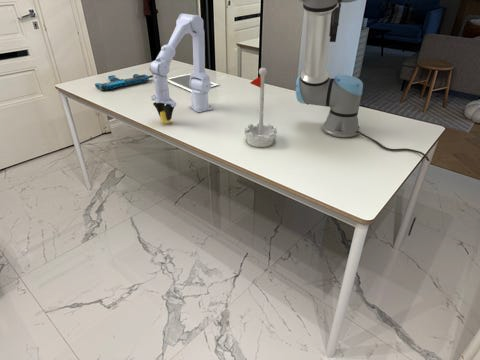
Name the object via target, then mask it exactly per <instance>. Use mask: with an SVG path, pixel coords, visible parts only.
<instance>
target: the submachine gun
mask: <svg viewBox="0 0 480 360" xmlns="http://www.w3.org/2000/svg"><path fill="white" fill-rule="evenodd" d="M107 77H108V80H109V82H103V83H100V82H96V83H94V86H95V88H97V89H98V90H100V91H107V90H113V91H114V90H115V89H116V88H120V87H125V86H129V85H134V84H138V83H139V84H140V83H145V82H146V83H147V81H148V80H150V79H151V78H153V75H152V74H151V75H147V74H138V73H134V74H133V75H132V77H129V78H121V79H120V78H118V77H117V76H116V75H113V74H112V75H108V76H107Z"/></svg>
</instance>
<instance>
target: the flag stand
mask: <svg viewBox="0 0 480 360" xmlns="http://www.w3.org/2000/svg"><path fill="white" fill-rule="evenodd" d="M267 73H268V71H267V69H266V68H265V67H260V68H259V70H258V74H259V76H258V77H256V78H255V79H253V80H252V81H250V82H249V84H250V85H253V86H256V87H257V88H259V115H258V122H256V125H254V124H253V123H250V124H248V125H247V127H245V128H244V137H246V138H247V139H246V141H247V143H248V145H250V146H253V147H255V148H256V147H257V148H267V147H269V146H272V145H273V144H274V142H275V140H274V139H276V138H277V132H278V131H277V130H278V129H277V127H274V124H271V123H268V124H267V125H264V102H265V81H266V80H265V79H266V78H265V77H266V75H267Z"/></svg>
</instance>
